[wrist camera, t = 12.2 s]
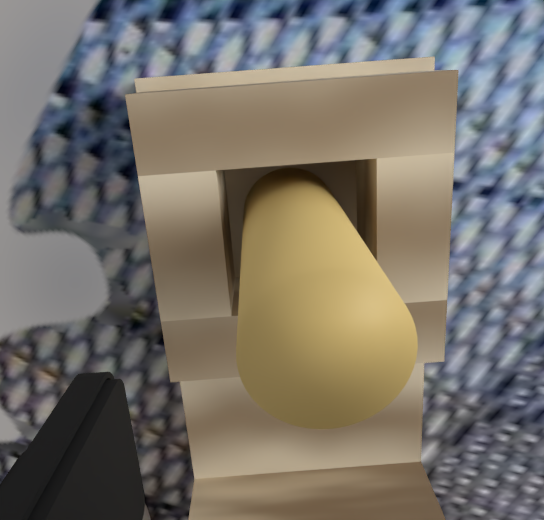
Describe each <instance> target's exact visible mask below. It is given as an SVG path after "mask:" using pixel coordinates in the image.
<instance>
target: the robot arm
mask: <svg viewBox="0 0 544 520" xmlns="http://www.w3.org/2000/svg"><path fill="white" fill-rule="evenodd" d="M144 509H145V496H144V490H143V484H142V479H141V474H140V468H139V463H138V457H137V452H136V446H135V441H134V436H133V430H132V425H131V419H130V414H129V409H128V403H127V398H126V392H125V387H124V383H123V381H122V380H121V379H114V377H113V375H112V374H111V373H110V372H99V373H83V374H78V375H77V376H76V377H75V378H74V380H73V381H72V383H71V384H70V386H69V387H68V389H67V390H66V392H65V393H64V395H63V396H62V398H61V399H60V401H59V402H58V404H57V405H56V407H55V408H54V410H53V411H52V413H51V414H50V416H49V417H48V419H47V420H46V422H45V423H44V425H43V426H42V428H41V429H40V430H39V432H38V433H37V435H36V436H35V438H34V439H33V441H32V442H31V444H30V445H29V447H28V448H27V450H26V451H25V452H23V453H22V455H21V456H20V457H19V458H18V459H17V461H16V462H15V464H14V465H13V467H12V468H11V470H10V471H9V472H8V474H7V475H6V477H5V478H4V480H3V481H2V483H1V484H0V520H142V519H143V515H144Z"/></svg>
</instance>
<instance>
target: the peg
mask: <svg viewBox="0 0 544 520" xmlns="http://www.w3.org/2000/svg"><path fill="white" fill-rule="evenodd" d="M417 349H418V341H417V332H416V327H415V324H414V321H413V318H412V316H411V314H410V312H409V310H408V308H407V306H406V305H405V303H404V302H403V300H402V299H401V297H400V296H399V294H398V293H397V291H396V290H395V288H394V287H393V285H392V284H391V282H390V281H389V279H388V278H387V276H386V275H385V273H384V272H383V270H382V269H381V267H380V266H379V264H378V262H377V261H376V259H375V258H374V256H373V255H372V253H371V252H370V250H369V249H368V247H367V246H366V244H365V243H364V241H363V240H362V238H361V237H360V235H359V234H358V232H357V231H356V229H355V228H354V226H353V225H352V223H351V222H350V220H349V219H348V217H347V216H346V214H345V213H344V211H343V210H342V208H341V206H340V205H339V203H338V202H337V200H336V199H335V197H334V196H333V194H332V193H331V191H330V190H329V188H328V187H327V186H326V184H325V183H324V182H323V181H322V180H321V179H320V178H319V177H317V176H316V175H315V174H313V173H311V172H309V171H306V170H303V169H300V168H281V169H277V170H274V171H271V172H269V173H267V174H266V175H264V176H263V177H261V178H260V179H259V180H258V181H257V182H256V183H255V184H254V185H253V187H252V188H251V189H250V191H249V193H248V195H247V197H246V200H245V204H244V213H243V232H242V250H241V268H240V287H239V305H238V324H237V342H236V362H237V367H238V372H239V375H240V378H241V381H242V383H243V385H244V387H245V389H246V391H247V392H248V393H249V395H250V396H251V398H252V399H253V400H254V401H255V402H256V403H257V404H258V405H259V406H260V407H261V408H262V409H263V410H265V411H266V412H267V413H269V414H270V415H272V416H273V417H275V418H277V419H279V420H281V421H283V422H285V423H288V424H291V425H294V426H298V427H303V428H309V429H334V428H341V427H345V426H349V425H353V424H356V423H358V422H361V421H363V420H365V419H368V418H370V417H372V416H373V415H375V414H376V413H378V412H380V411H381V410H383V409H384V408H385V407H386V406H387V405H389V404H390V403H391V402H392V401H393V400H394V399H395V398H396V397H397V396H398V395H399V393H400V392H401V391H402V389H403V388H404V387H405V385H406V383H407V382H408V380H409V378H410V376H411V374H412V371H413V369H414V365H415V362H416V358H417Z"/></svg>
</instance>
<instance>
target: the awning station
mask: <svg viewBox="0 0 544 520" xmlns="http://www.w3.org/2000/svg"><path fill="white" fill-rule="evenodd" d="M434 62H435V57H423V58H410V59H396V60H382V61H369V62H355V63H342V64H328V65H315V66H301V67H287V68H274V69H260V70H247V71H233V72H220V73H206V74H193V75H179V76H165V77H152V78H138V79H134V80H135V86H136V93H133V94H126V95H125V97H126V104H127V110H128V116H129V123H130V129H131V135H132V142H133V148H134V154H135V161H136V167H137V173H138V180H139V186H140V192H141V199H142V205H143V211H144V218H145V224H146V230H147V237H148V243H149V250H150V256H151V262H152V269H153V275H154V281H155V288H156V294H157V300H158V307H159V313H160V319H161V326H162V332H163V338H164V345H165V351H166V357H167V364H168V370H169V376H170V382H180V386H181V392H182V399H183V406H184V412H185V419H186V426H187V432H188V439H189V446H190V452H191V459H192V466H193V472H194V486H193V492H192V499H191V505H190V512H189V519H188V520H446V519H445V517H444V515H443V512H442V510H441V508H440V505H439V503H438V501H437V498H436V496H435V494H434V491H433V489H432V487H431V484H430V482H429V480H428V477H427V475H426V473H425V470H424V468H423V465H422V463H421V442H422V413H423V384H424V363H430V362H443V361H444V354H445V333H446V313H447V292H448V272H449V252H450V231H451V211H452V190H453V170H454V149H455V129H456V109H457V88H458V70H438V71H434ZM281 168H300V169H303V170H306V171H309V172H311V173H313V174H315V175H316V176H317V177H319V178H320V179H321V180H322V181H323V182H324V183H325V184H326V186H327V187H328V188H329V190H330V191H331V193H332V194H333V196H334V197H335V199H336V200H337V202H338V203H339V205H340V206H341V208H342V210H343V211H344V213H345V214H346V216H347V217H348V219H349V220H350V222H351V223H352V225H353V226H354V228H355V229H356V231H357V232H358V234H359V235H360V237H361V238H362V240H363V241H364V243H365V244H366V246H367V247H368V249H369V250H370V252H371V253H372V255H373V256H374V258H375V259H376V261H377V262H378V264H379V266H380V267H381V269H382V270H383V272H384V273H385V275H386V276H387V278H388V279H389V281H390V282H391V284H392V285H393V287H394V288H395V290H396V291H397V293H398V294H399V296H400V297H401V299H402V300H403V302H404V303H405V305H406V306H407V308H408V310H409V312H410V314H411V316H412V318H413V321H414V324H415V327H416V332H417V341H418V349H417V358H416V362H415V365H414V369H413V371H412V374H411V376H410V378H409V380H408V382H407V383H406V385H405V387H404V388H403V389H402V391H401V392H400V393H399V395H398V396H397V397H396V398H395V399H394V400H393V401H392V402H391V403H390V404H389V405H387V406H386V407H385V408H384V409H383V410H381V411H380V412H378V413H376V414H375V415H373V416H372V417H370V418H368V419H365V420H363V421H361V422H358V423H356V424H353V425H349V426H345V427H341V428H334V429H309V428H303V427H298V426H294V425H291V424H288V423H285V422H283V421H281V420H279V419H277V418H275V417H273V416H272V415H270V414H269V413H267V412H266V411H265V410H263V409H262V408H261V407H260V406H259V405H258V404H257V403H256V402H255V401H254V400H253V399H252V398H251V396H250V395H249V393H248V392H247V391H246V389H245V387H244V385H243V383H242V381H241V378H240V375H239V372H238V367H237V362H236V342H237V324H238V305H239V287H240V268H241V250H242V232H243V213H244V204H245V200H246V197H247V195H248V193H249V191H250V189H251V188H252V187H253V185H254V184H255V183H256V182H257V181H258V180H259V179H260V178H261V177H263V176H264V175H266V174H267V173H269V172H271V171H274V170H277V169H281Z"/></svg>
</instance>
